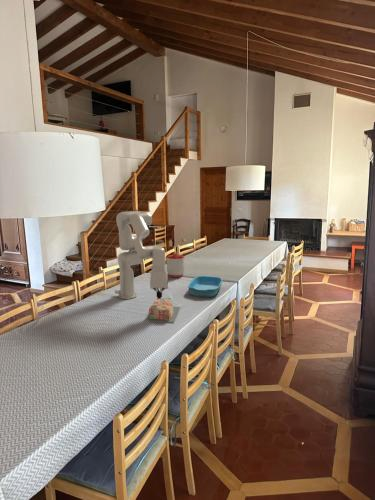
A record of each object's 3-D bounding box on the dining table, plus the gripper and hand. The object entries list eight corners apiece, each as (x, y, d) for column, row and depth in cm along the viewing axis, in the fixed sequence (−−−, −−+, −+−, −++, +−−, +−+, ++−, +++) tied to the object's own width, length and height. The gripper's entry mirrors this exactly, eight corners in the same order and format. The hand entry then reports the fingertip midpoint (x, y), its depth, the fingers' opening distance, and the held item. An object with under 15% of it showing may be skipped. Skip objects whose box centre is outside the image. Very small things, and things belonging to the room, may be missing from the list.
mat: (149, 321, 207) (149, 321, 207) (158, 306, 233) (158, 305, 233) (173, 323, 206) (173, 322, 206) (180, 307, 231) (180, 306, 231)
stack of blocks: (156, 297, 230) (175, 298, 228) (156, 306, 231) (175, 307, 229) (148, 309, 209) (169, 310, 207) (149, 319, 210) (169, 320, 208)
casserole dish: (216, 300, 246) (216, 290, 245) (184, 297, 252) (184, 287, 250) (224, 285, 281) (224, 276, 280) (196, 283, 287) (196, 274, 285)
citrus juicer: (166, 273, 317) (166, 251, 313) (185, 274, 314) (185, 251, 311) (162, 278, 302) (162, 254, 298) (183, 278, 299) (183, 255, 295)
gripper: (145, 269, 212) (145, 299, 215) (170, 270, 210) (170, 300, 213) (148, 266, 219) (148, 295, 222) (172, 267, 217) (172, 296, 220)
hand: (159, 298), depth 218 cm, fingers closed
